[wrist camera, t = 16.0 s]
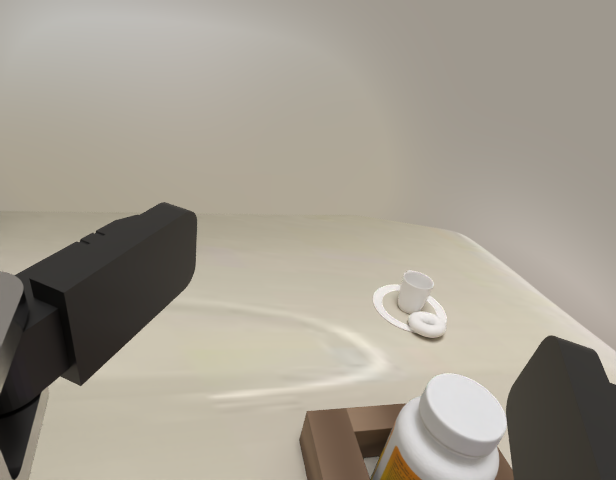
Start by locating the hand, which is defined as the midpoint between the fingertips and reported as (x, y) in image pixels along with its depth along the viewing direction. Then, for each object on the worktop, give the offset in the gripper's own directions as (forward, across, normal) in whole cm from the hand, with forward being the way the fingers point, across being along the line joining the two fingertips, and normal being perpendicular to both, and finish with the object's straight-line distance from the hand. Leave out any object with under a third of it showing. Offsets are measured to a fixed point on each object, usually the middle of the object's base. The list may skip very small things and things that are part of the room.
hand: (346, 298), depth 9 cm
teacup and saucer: (+26, -3, +21) cm, 33 cm away
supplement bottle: (+8, -7, +20) cm, 22 cm away
